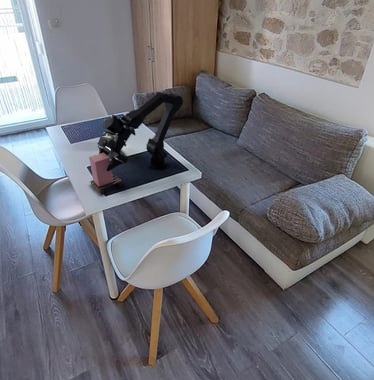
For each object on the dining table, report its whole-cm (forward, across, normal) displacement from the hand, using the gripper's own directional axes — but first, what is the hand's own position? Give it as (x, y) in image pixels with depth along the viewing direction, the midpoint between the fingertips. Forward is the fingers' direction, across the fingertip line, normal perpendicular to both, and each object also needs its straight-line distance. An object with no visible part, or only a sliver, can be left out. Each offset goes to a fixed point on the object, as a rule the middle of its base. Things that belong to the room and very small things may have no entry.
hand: (102, 166), depth 142 cm
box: (+6, 0, +5) cm, 8 cm away
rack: (+7, 0, +8) cm, 11 cm away
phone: (-7, -29, +22) cm, 37 cm away
